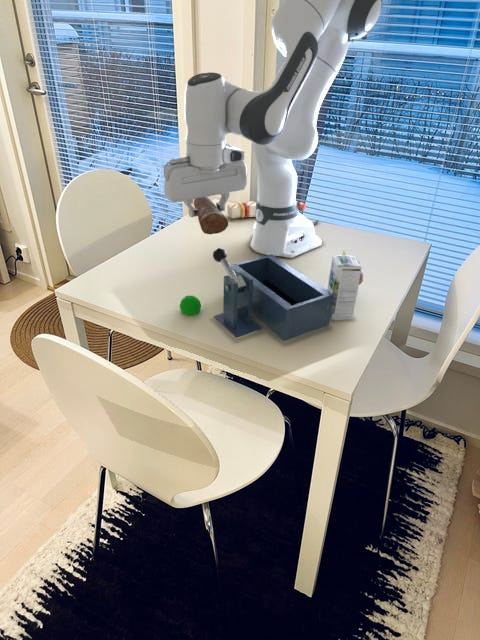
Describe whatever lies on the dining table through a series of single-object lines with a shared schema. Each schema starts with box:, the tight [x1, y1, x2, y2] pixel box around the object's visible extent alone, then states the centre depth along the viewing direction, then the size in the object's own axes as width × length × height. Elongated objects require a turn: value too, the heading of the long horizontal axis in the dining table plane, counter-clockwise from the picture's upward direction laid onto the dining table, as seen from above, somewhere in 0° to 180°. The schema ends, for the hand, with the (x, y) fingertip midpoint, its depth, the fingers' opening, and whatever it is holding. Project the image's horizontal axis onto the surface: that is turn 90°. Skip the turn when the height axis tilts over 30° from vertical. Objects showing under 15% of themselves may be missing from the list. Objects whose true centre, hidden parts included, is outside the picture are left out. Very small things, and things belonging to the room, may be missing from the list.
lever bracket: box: [213, 271, 263, 338], centre depth 114 cm, size 10×7×13 cm
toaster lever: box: [212, 247, 247, 293], centre depth 113 cm, size 12×3×3 cm, turn 32°
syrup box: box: [326, 254, 363, 321], centre depth 119 cm, size 6×6×14 cm
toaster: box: [228, 254, 334, 342], centre depth 120 cm, size 13×24×9 cm, turn 32°
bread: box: [193, 196, 229, 235], centre depth 119 cm, size 6×19×6 cm, turn 12°
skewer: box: [226, 200, 256, 219], centre depth 175 cm, size 21×6×5 cm, turn 109°
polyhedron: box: [179, 295, 202, 316], centre depth 120 cm, size 5×5×5 cm
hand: (207, 213), depth 120 cm, fingers closed on bread, 6 cm apart
